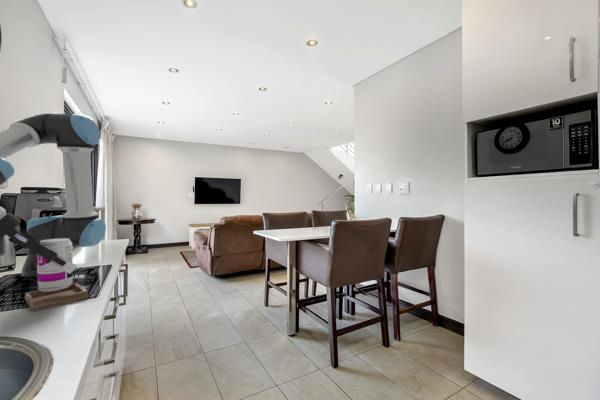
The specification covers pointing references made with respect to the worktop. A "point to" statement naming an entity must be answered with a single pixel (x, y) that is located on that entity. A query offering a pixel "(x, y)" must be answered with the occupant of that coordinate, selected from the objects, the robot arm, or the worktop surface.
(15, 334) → the worktop surface
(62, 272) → the supplement can
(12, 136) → the robot arm
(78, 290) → the walnut tray
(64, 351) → the worktop surface
